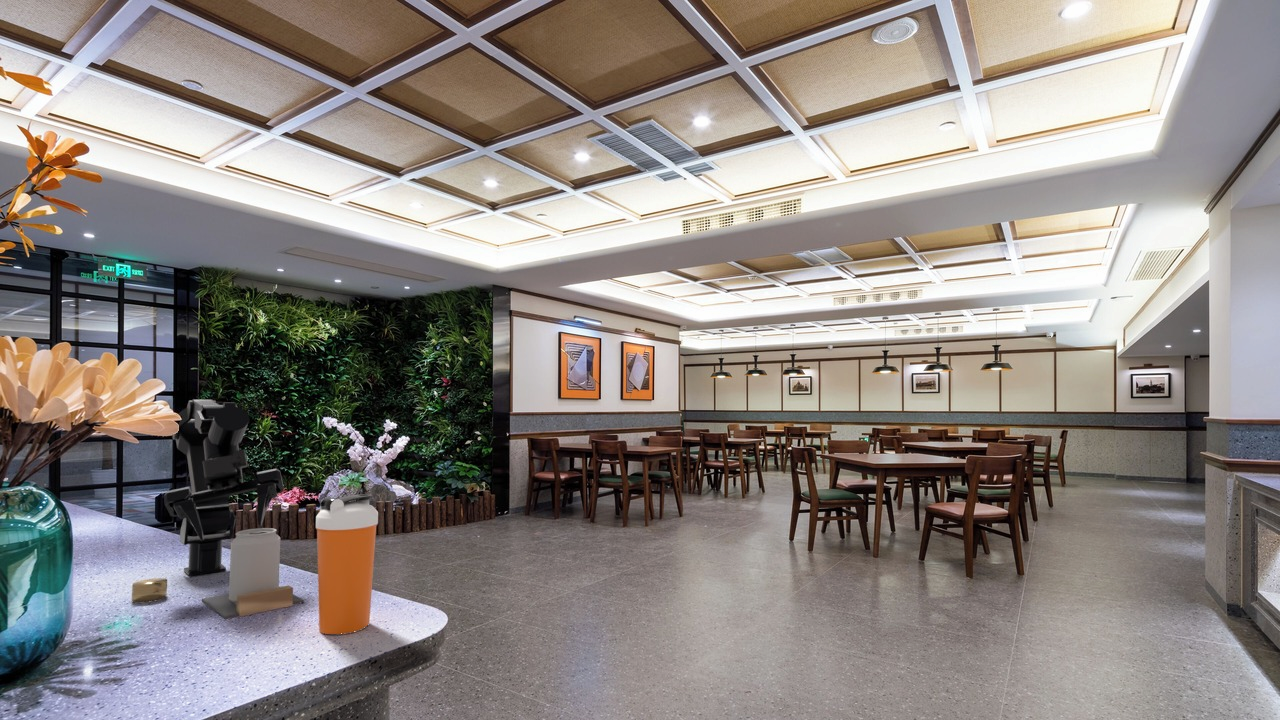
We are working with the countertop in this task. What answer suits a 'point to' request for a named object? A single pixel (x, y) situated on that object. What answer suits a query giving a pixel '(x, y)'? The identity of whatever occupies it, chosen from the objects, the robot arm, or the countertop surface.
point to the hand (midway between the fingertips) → (231, 532)
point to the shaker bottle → (345, 562)
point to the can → (254, 561)
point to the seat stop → (264, 600)
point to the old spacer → (149, 590)
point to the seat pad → (230, 605)
